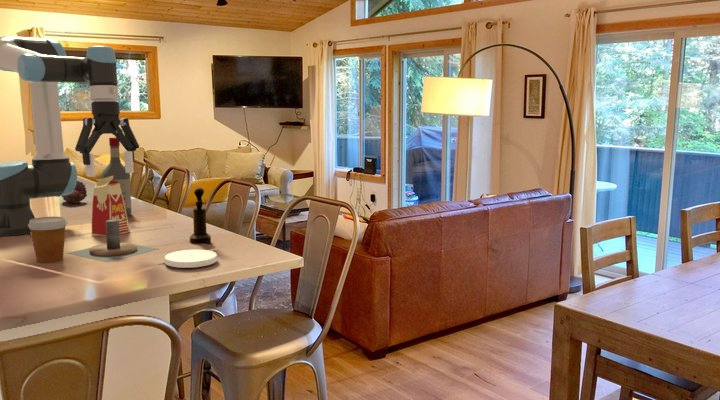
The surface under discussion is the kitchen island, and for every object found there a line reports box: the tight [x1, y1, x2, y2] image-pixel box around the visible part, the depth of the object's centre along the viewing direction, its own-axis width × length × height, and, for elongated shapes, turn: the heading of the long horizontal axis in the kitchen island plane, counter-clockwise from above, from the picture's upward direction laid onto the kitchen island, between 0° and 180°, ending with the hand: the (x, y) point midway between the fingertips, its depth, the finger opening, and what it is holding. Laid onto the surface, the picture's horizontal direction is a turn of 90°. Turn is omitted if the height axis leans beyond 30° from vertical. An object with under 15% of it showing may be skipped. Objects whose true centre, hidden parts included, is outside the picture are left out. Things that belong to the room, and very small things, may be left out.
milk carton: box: [91, 176, 131, 237], centre depth 200 cm, size 9×9×20 cm
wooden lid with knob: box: [89, 220, 138, 257], centre depth 176 cm, size 13×13×9 cm
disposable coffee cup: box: [28, 216, 68, 264], centre depth 165 cm, size 10×10×12 cm
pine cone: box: [61, 180, 88, 204], centre depth 260 cm, size 18×10×10 cm, turn 40°
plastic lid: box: [164, 249, 218, 269], centre depth 167 cm, size 14×14×2 cm
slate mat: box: [66, 241, 159, 263], centre depth 177 cm, size 18×18×1 cm
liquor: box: [101, 137, 132, 217], centre depth 234 cm, size 9×9×30 cm
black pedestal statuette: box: [189, 186, 212, 245], centre depth 190 cm, size 7×6×18 cm
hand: (110, 174), depth 176 cm, fingers open, 13 cm apart
